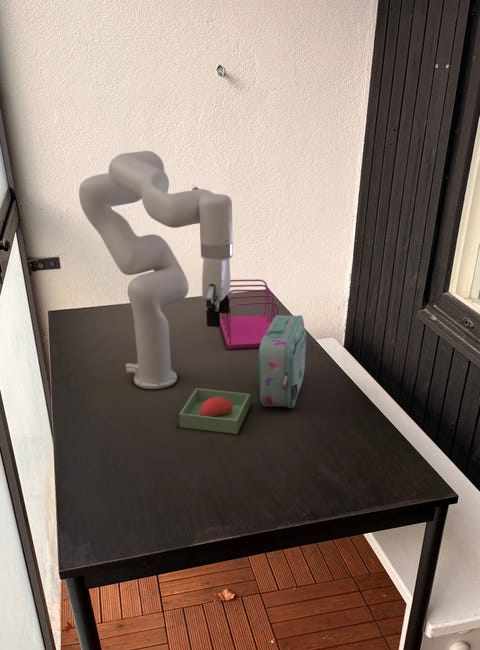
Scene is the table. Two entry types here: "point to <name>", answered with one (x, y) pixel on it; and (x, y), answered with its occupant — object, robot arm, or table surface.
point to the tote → (220, 422)
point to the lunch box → (282, 361)
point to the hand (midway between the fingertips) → (218, 319)
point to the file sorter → (247, 321)
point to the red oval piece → (215, 407)
